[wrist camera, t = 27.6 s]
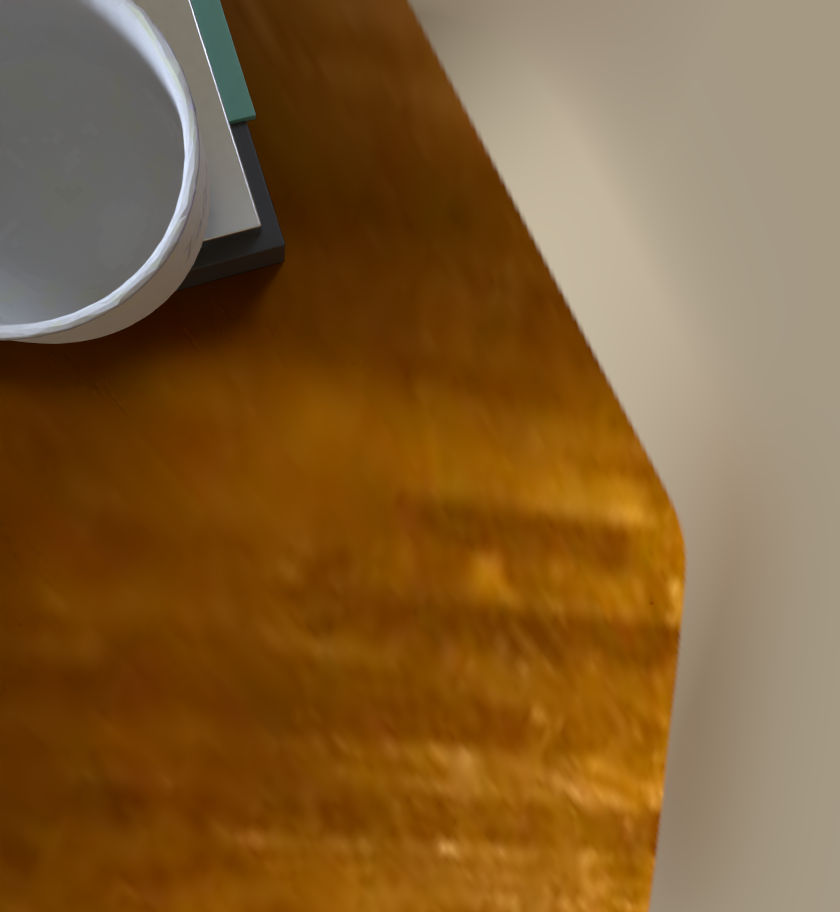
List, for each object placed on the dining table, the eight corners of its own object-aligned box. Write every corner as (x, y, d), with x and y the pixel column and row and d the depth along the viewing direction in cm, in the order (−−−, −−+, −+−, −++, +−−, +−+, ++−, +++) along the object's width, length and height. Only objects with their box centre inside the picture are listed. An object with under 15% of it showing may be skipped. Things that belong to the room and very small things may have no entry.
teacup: (268, 291, 30) (265, 241, 23) (-8, 412, 29) (-114, 403, 21) (100, -61, 29) (34, -246, 21) (-199, 44, 27) (-391, -113, 20)
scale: (176, -114, 33) (163, -188, 29) (293, 258, 34) (295, 236, 31) (-246, -34, 31) (-322, -103, 27) (-103, 366, 32) (-156, 356, 28)
